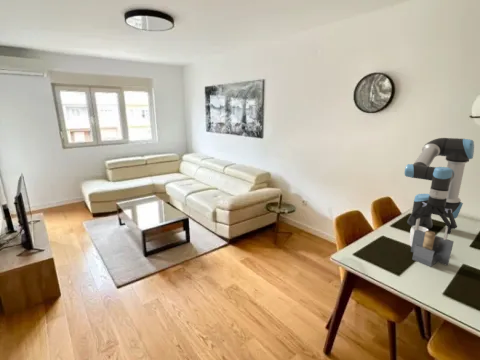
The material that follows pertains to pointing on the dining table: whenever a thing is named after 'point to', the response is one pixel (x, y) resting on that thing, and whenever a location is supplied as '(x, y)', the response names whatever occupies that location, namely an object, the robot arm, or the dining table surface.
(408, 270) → the dining table surface
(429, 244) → the wooden dowel
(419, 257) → the bracket
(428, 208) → the robot arm
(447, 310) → the dining table surface
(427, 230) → the cup
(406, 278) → the dining table surface
